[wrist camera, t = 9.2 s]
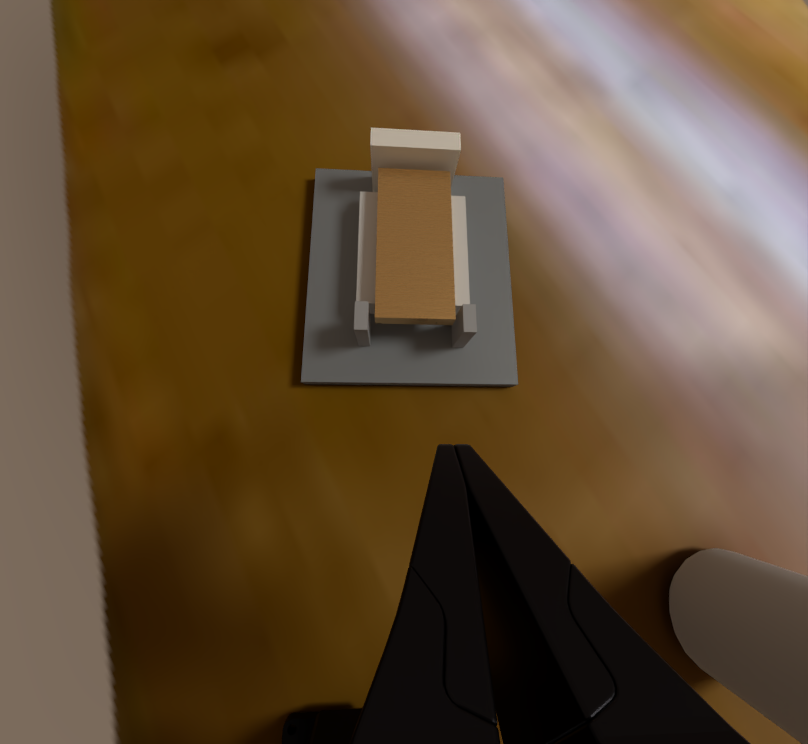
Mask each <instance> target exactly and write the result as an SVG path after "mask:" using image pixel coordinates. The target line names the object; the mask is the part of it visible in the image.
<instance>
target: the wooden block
mask: <svg viewBox="0 0 808 744" xmlns="http://www.w3.org/2000/svg"><path fill="white" fill-rule="evenodd" d="M455 320H456V311H455V284H454V258H453V231H452V205H451V178H450V171H432V170H413V169H393V168H378V202H377V243H376V285H375V323H376V324H420V325H453V323H454V322H455Z"/></svg>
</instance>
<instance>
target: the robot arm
mask: <svg viewBox="0 0 808 744" xmlns="http://www.w3.org/2000/svg"><path fill="white" fill-rule="evenodd" d="M496 713H497V716H496ZM497 717H498V722H499V726H500V731H501V735H502V740H503V744H750V743H749V742H748V741H747V740H746V739H745V738H744V737H743V736H741V735H740V734H739V733H738V732H737V731H736V730H735V729H734V728H732V727H731V726H730V725H729V724H728V723H727V722H726V721H725V720H724V719H723V718H722V717H721V716H720V715H719V714H718V713H717V712H716V711H715V710H714V709H713V708H712V707H711V706H710V705H709V704H708V703H707V702H706V701H705V700H704V699H703V698H702V697H701V696H700V695H699V694H698V693H697V692H696V691H695V690H694V689H693V688H692V687H691V686H690V685H689V684H688V683H687V682H686V681H685V680H684V679H683V678H682V677H681V676H680V675H679V674H678V673H677V672H676V671H675V670H674V669H673V668H672V667H671V666H670V665H669V664H668V663H667V662H666V661H665V660H664V659H663V658H662V657H661V656H660V655H659V654H658V653H657V652H656V651H655V650H654V649H653V648H652V647H651V646H649V645H648V644H647V643H646V642H645V641H644V640H643V639H642V638H641V637H640V635H639V634H638V633H637V632H636V631H635V630H634V629H633V628H632V627H631V626H630V625H629V624H628V623H627V622H626V621H625V620H624V619H623V618H622V617H621V616H620V615H619V614H618V613H617V612H616V611H615V610H614V609H613V608H612V607H611V606H610V604H609V603H608V602H607V601H606V600H605V599H604V598H603V597H602V596H601V594H600V593H599V592H598V591H597V590H596V589H595V588H594V587H593V586H592V585H591V583H590V582H589V581H588V580H587V579H586V578H585V577H584V575H583V574H582V573H581V572H580V571H579V570H578V569H577V567H576V566H575V565H574V564H571V561H570V560H569V558H568V557H567V556H566V555H565V554H564V553H563V552H562V550H561V549H560V548H559V547H558V546H557V545H556V544H555V542H554V541H553V540H552V539H551V538H550V537H549V535H548V534H547V533H546V532H545V531H544V530H543V529H542V527H541V526H540V525H539V524H538V523H537V522H536V521H535V519H534V518H533V517H532V516H531V515H530V514H529V512H528V511H527V510H526V509H525V508H524V507H523V506H522V504H521V503H520V502H519V501H518V500H517V499H516V498H515V496H514V495H513V494H512V493H511V492H510V491H509V490H508V488H507V487H506V486H505V485H504V484H503V483H502V481H501V480H500V479H499V478H498V477H497V476H496V475H495V473H494V472H493V471H492V470H491V469H490V468H489V467H488V465H487V464H486V463H485V462H484V461H483V460H482V458H481V457H480V456H479V455H478V454H477V453H476V452H475V450H474V449H473V448H472V447H471V446H470V445H468V444H456V445H454V446H453V445H451V444H439V445H438V447H437V451H436V455H435V459H434V463H433V467H432V472H431V476H430V480H429V484H428V488H427V492H426V497H425V501H424V505H423V509H422V513H421V518H420V522H419V526H418V530H417V534H416V538H415V543H414V547H413V551H412V555H411V559H410V564H409V568H408V571H407V575H406V579H405V584H404V588H403V591H402V595H401V599H400V602H399V606H398V610H397V613H396V617H395V619H394V622H393V625H392V628H391V631H390V634H389V637H388V640H387V643H386V646H385V649H384V652H383V654H382V657H381V660H380V662H379V665H378V668H377V670H376V673H375V676H374V679H373V681H372V684H371V687H370V689H369V692H368V695H367V698H366V700H365V703H364V706H363V708H362V709H351V710H329V711H320V712H305V713H293V714H290V715H289V716H288V717H287V719H286V721H285V724H284V727H283V735H282V744H500V739H499V732H498V728H497V727H496V726H497ZM292 724H293V725H295V726H296V728H295V729H292V728H291V727H290V725H292Z"/></svg>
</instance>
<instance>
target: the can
mask: <svg viewBox="0 0 808 744" xmlns="http://www.w3.org/2000/svg"><path fill="white" fill-rule="evenodd" d="M669 612H670V616H671V620H672V624H673V628H674V632H675V634H676V636H677V638H678V640H679V642H680V644H681V646H682V647H683V649H684V651H685V653H686V654H687V655H688V656H689V657H690V658H691V659H692V660H693V661H694V662H695V663H696V664H697V666H698V667H699V668H700V669H702V670H703V671H704V672H706V673H707V674H708V675H710V676H711V677H713V678H714V679H715V680H717V681H718V682H719V683H721V684H722V685H723V686H725V687H726V688H727V689H729V690H730V691H731V692H733V693H734V694H736V695H737V696H738V697H740V698H741V699H742V700H744V701H745V702H746V703H748V704H749V705H750V706H752V707H753V708H754V709H756V710H757V711H759V712H760V713H761V714H763V715H764V716H765V717H767V718H768V719H769V720H771V721H772V722H773V723H775V724H776V725H777V726H779V727H780V728H782V729H783V730H784V731H786V732H787V733H788V734H790V735H791V736H792V737H794V738H795V739H796V740H798V741H799V742H800V743H802V744H808V576H805V575H802V574H799V573H796V572H793V571H790V570H787V569H784V568H781V567H778V566H775V565H772V564H769V563H766V562H763V561H760V560H757V559H754V558H751V557H748V556H745V555H742V554H739V553H736V552H733V551H728V550H723V549H718V548H714V549H708V550H701V551H699V552H697V553H695V554H694V555H692V556H690V557H689V558H687V559H686V560H685V561H684V563H683V564H682V565H681V566H680V568H679V569H678V570H677V572H676V573H675V574H674V576H673V579H672V582H671V585H670V589H669Z"/></svg>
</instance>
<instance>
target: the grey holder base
mask: <svg viewBox="0 0 808 744" xmlns="http://www.w3.org/2000/svg"><path fill="white" fill-rule="evenodd" d="M370 146H371V165H372V171H357V170H337V169H317V168H316V175H315V189H314V203H313V217H312V231H311V246H310V260H309V274H308V288H307V302H306V317H305V331H304V345H303V359H302V373H301V382H302V383H304V384H333V385H417V386H501V387H513V386H515V385H518V376H517V362H516V349H515V335H514V321H513V307H512V293H511V279H510V265H509V251H508V237H507V224H506V210H505V196H504V182H503V178H498V177H478V176H458V175H454V174H455V171H456V167H457V163H458V159H459V155H460V151H461V141H460V133H455V132H437V131H420V130H403V129H385V128H371V143H370ZM378 168H393V169H413V170H432V171H450V178H451V205H452V231H453V258H454V284H455V311H456V320H455V322H454V323H453V325H420V324H376V323H375V285H376V243H377V202H378Z"/></svg>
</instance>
